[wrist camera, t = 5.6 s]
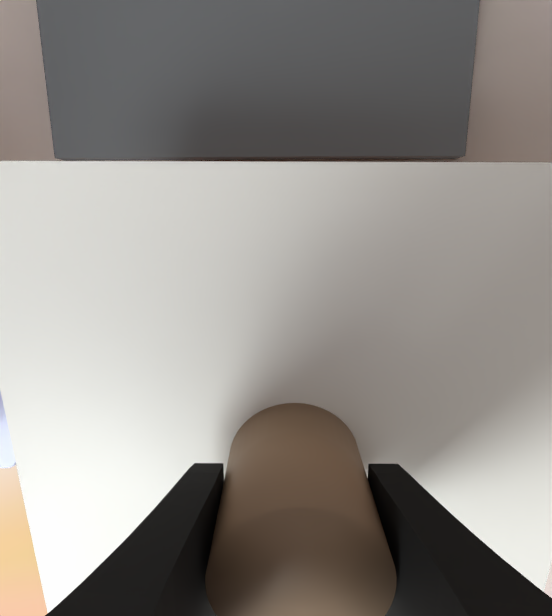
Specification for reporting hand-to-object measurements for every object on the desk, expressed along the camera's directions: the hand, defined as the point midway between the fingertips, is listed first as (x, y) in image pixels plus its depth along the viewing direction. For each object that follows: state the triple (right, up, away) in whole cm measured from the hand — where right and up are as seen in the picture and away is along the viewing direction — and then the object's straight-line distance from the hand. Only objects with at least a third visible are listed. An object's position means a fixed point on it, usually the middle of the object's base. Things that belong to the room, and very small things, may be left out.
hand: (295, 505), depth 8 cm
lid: (0, +1, +2) cm, 2 cm away
